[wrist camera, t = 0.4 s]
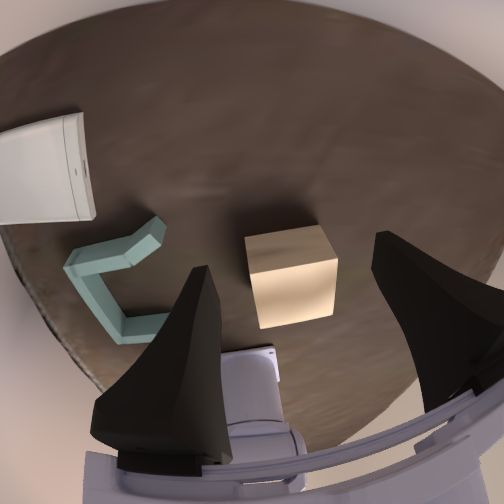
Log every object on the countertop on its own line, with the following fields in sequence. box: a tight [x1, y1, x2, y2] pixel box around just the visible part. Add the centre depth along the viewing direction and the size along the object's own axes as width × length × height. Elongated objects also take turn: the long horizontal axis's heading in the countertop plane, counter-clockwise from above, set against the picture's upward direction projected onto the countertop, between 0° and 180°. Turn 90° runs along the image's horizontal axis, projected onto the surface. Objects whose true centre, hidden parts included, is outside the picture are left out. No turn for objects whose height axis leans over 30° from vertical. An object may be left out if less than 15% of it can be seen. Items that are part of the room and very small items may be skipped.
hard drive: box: [0, 112, 96, 225], centre depth 15 cm, size 2×8×12 cm
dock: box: [63, 215, 170, 345], centre depth 22 cm, size 13×9×2 cm
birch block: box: [244, 225, 338, 329], centre depth 22 cm, size 6×6×4 cm
